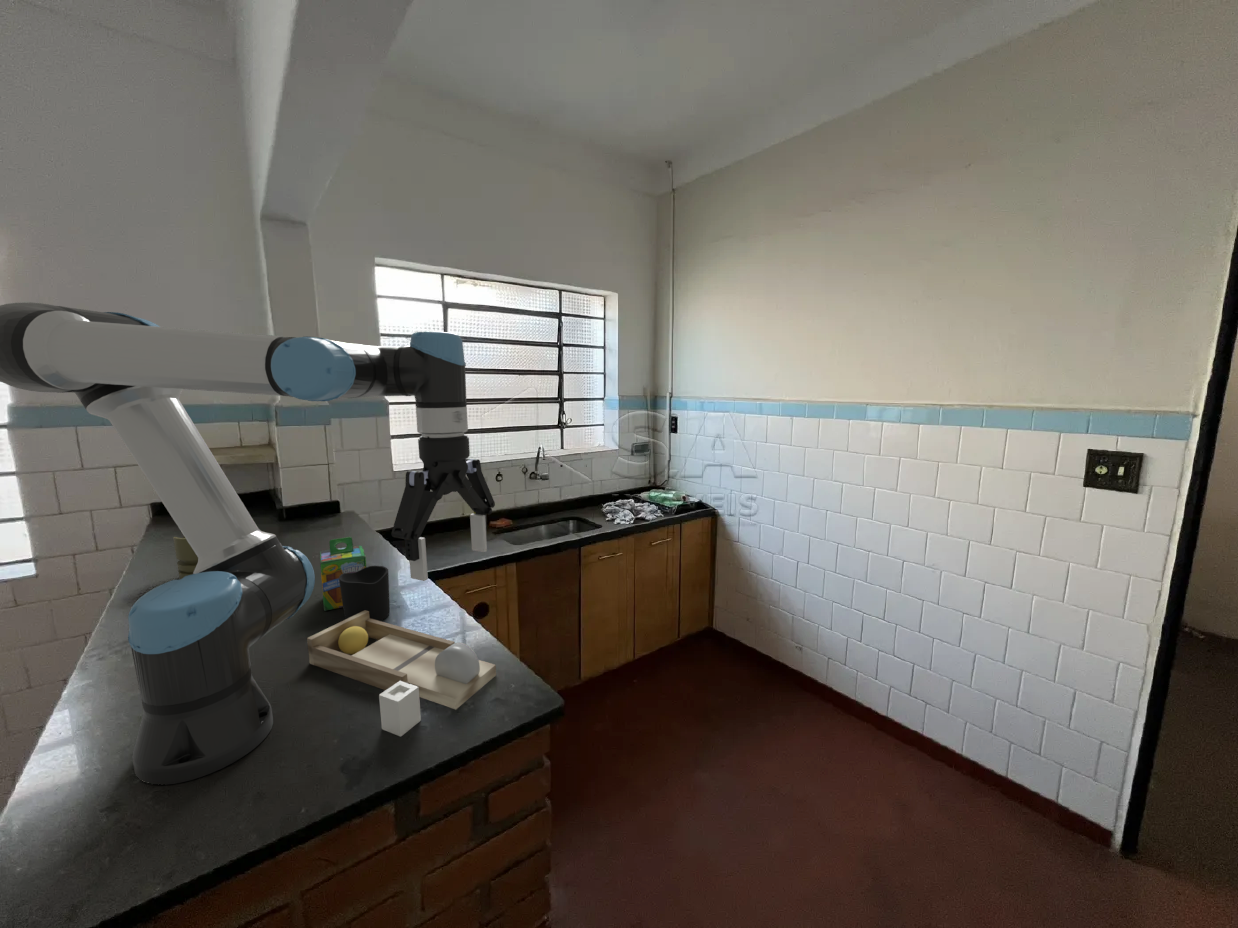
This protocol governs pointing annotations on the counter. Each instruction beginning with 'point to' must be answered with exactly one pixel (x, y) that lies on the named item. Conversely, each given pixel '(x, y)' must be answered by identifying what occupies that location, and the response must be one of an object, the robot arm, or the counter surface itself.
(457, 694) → the lane
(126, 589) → the counter surface
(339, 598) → the chalk box
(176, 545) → the piston
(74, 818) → the counter surface
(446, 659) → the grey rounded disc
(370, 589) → the pen holder
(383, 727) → the tee
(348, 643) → the ball
